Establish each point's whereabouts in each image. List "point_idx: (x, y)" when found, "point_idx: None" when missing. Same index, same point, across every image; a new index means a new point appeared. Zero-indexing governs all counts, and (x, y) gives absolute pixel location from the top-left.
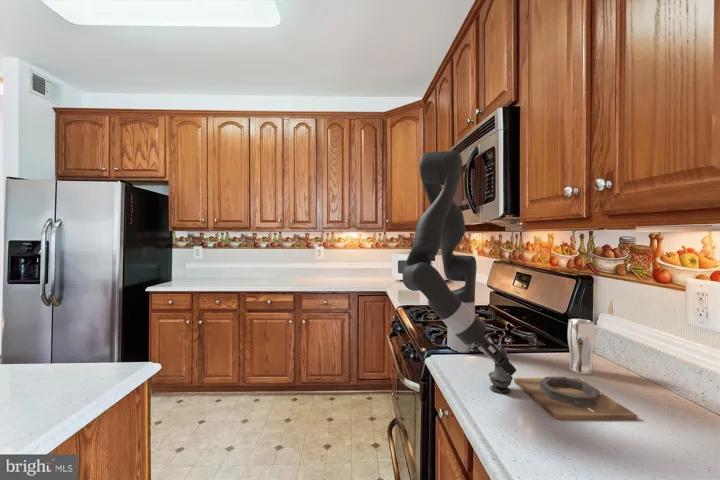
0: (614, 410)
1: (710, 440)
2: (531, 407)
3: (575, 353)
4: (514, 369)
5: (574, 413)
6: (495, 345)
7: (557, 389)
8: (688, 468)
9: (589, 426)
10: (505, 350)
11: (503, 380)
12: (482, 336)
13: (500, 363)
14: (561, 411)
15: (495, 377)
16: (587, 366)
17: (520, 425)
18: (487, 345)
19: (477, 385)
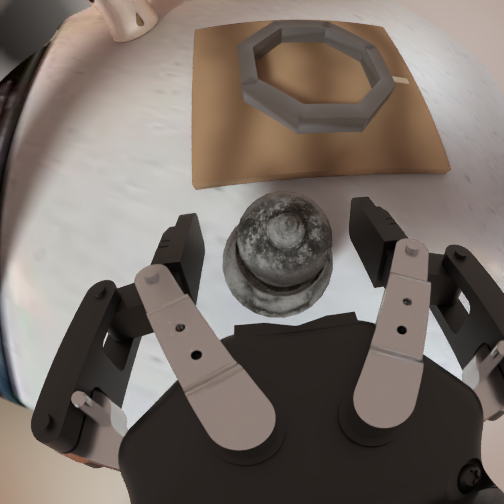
0: (378, 43)
1: (407, 9)
2: (398, 207)
3: (126, 1)
4: (385, 210)
5: (427, 122)
6: (425, 324)
7: (282, 85)
8: (492, 83)
9: (446, 121)
10: (315, 206)
11: (331, 264)
12: (487, 482)
13: (459, 304)
14: (429, 146)
15: (308, 295)
16: (150, 7)
17: None
18: (498, 411)
19: None
